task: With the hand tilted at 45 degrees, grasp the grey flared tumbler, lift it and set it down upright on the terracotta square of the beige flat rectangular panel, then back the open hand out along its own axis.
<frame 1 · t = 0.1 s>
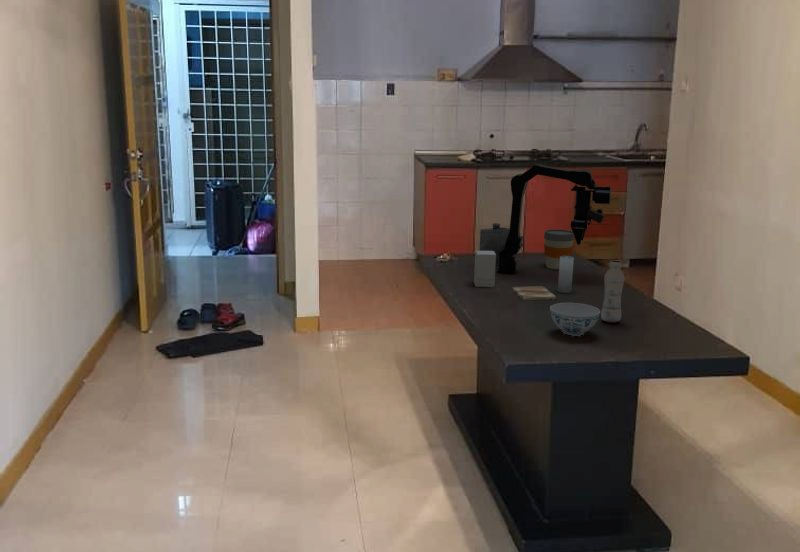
hand: (580, 242, 307), 15 cm above the table, tool pointing down, fingers open, 9 cm apart
reusable coffee cup: (557, 267, 329), on the table
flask: (494, 266, 330), on the table
plastic bottle: (610, 322, 255), on the table
supplement box: (484, 285, 298), on the table
beige flat rectangular panel: (533, 294, 286), on the table
chinaware: (573, 333, 242), on the table
grey flared tumbler: (564, 291, 291), on the table
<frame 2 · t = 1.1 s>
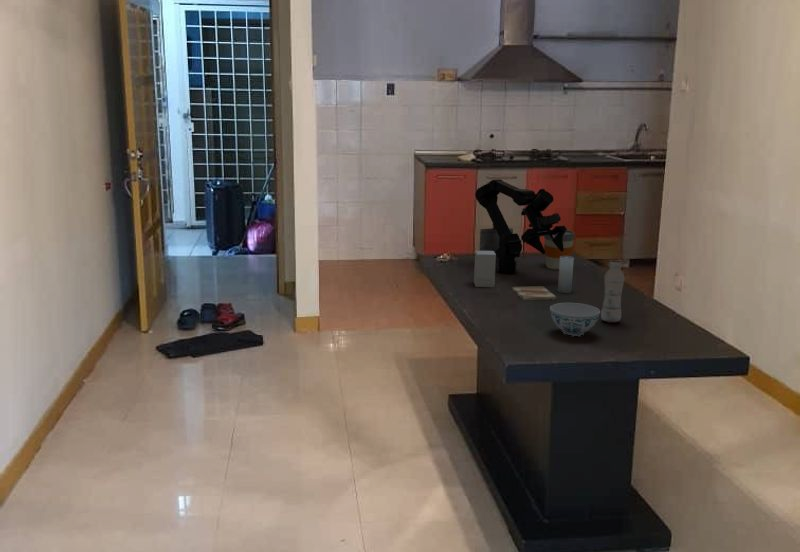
hand: (553, 252, 294), 13 cm above the table, tool tilted 45°, fingers open, 9 cm apart
nothing on the table moved.
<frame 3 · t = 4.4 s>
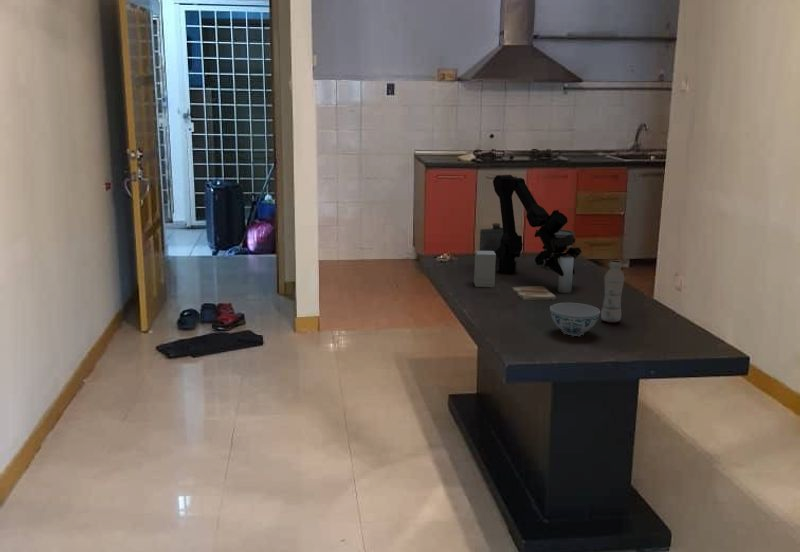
hand: (568, 274, 288), 7 cm above the table, tool tilted 45°, fingers closed on grey flared tumbler, 5 cm apart
grey flared tumbler: (564, 291, 291), on the table, touching gripper
everything else where it was.
when the fingers open (9 cm above the table, at t = 8.8 s): grey flared tumbler drops 1 cm, resting on beige flat rectangular panel.
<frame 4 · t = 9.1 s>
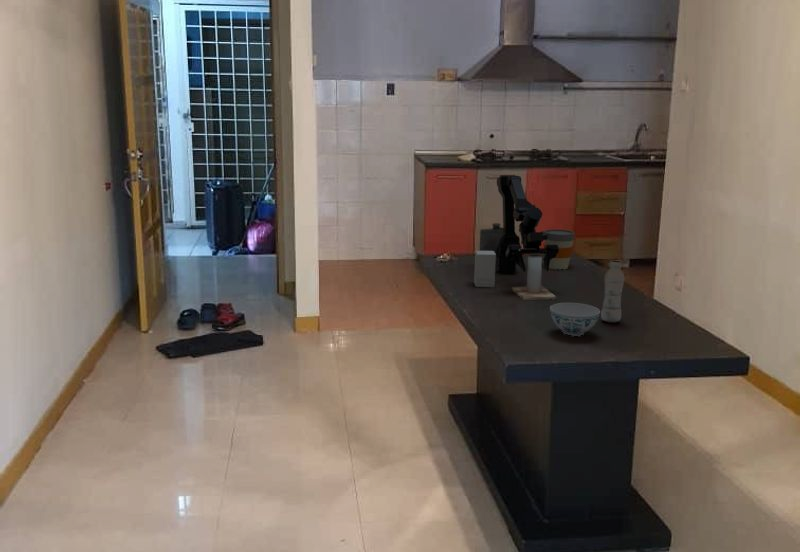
hand: (536, 271, 282), 9 cm above the table, tool tilted 45°, fingers open, 8 cm apart
grey flared tumbler: (533, 291, 286), point 1 cm above the table, touching beige flat rectangular panel
everything else where it was.
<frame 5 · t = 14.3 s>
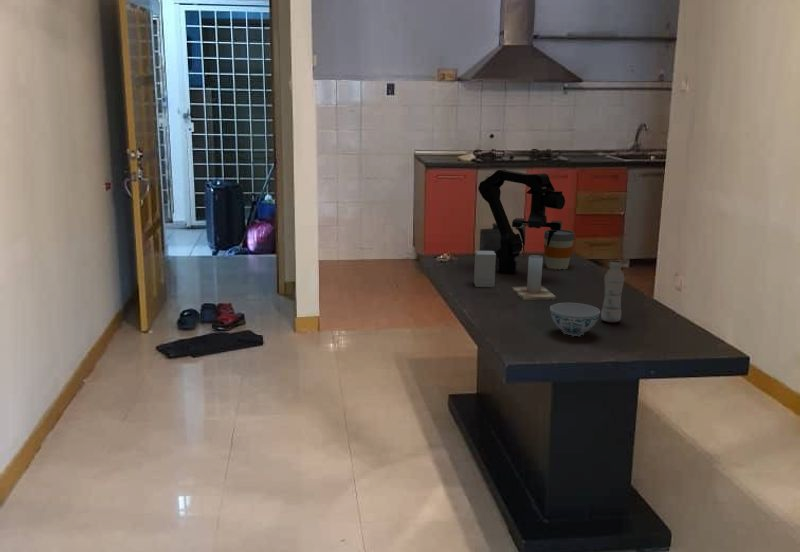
hand: (535, 245, 307), 13 cm above the table, tool pointing down, fingers open, 9 cm apart
nothing on the table moved.
at the end: grey flared tumbler inside the target area on the beige flat rectangular panel (0.1 cm from its centre), point 1.1 cm above the beige flat rectangular panel's base; grey flared tumbler tilted 0°; the gripper is holding nothing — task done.
